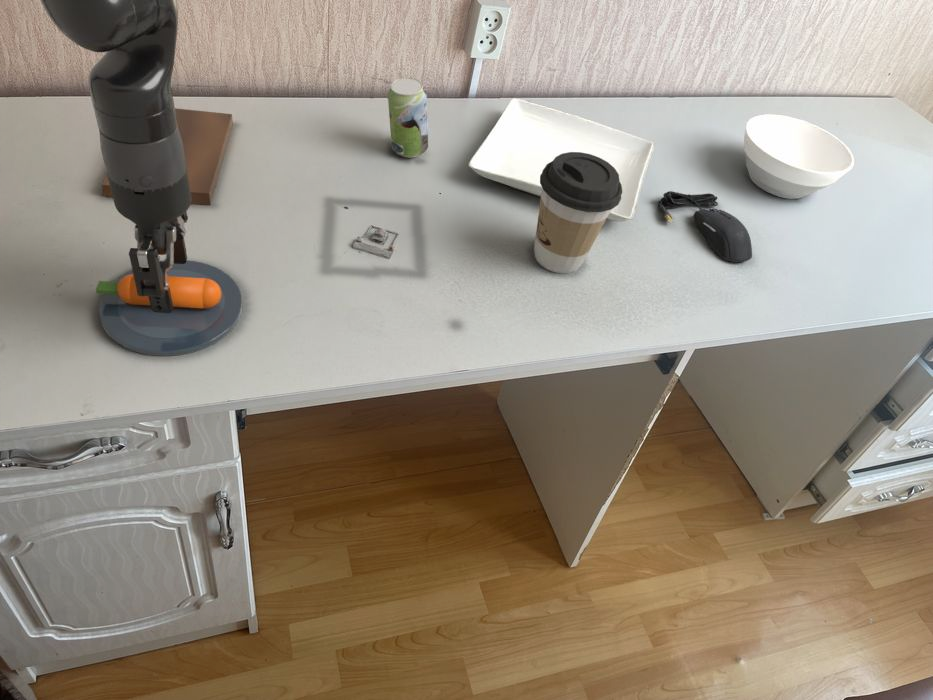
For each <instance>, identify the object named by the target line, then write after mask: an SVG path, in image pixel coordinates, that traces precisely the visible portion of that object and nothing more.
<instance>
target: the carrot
mask: <svg viewBox="0 0 933 700" xmlns="http://www.w3.org/2000/svg"><path fill="white" fill-rule="evenodd" d="M169 287H170V292H171V297H172V302H173V307H185V308H203V309H208V308H212V307H214V306H215V305H217V304H218V303H219V301H220V299H221V289H220V287H219V285H218V284H217V283H216V282H215V281H213V280H211V279H206V278H191V277H175V276H169ZM95 292H96V294H100V295H104V294H115V295H118V294H119V296H120V298H121V299H122V300H123V301H124V302H126V303H129V304H133V305H149V306H151V305H150V301H149V297H148V296H138V294H137V289H136V284H135V280H134V275H133V274H129V275H126V276H124V277H123V278H122V279H121V280H120V281H119V282H114V281H107V280H99V281H98V283H97V285H96V287H95Z"/></svg>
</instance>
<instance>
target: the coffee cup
mask: <svg viewBox="0 0 933 700" xmlns="http://www.w3.org/2000/svg"><path fill="white" fill-rule="evenodd" d="M540 184H541V186H542V193H541V197H540V201H539V209H538V216H537V223H536V229H535V230H536V231H535V238H534V245H533V252H534V258H535V260H536V262H537V263H538V264H539V265H540V266H541V267H542V268H543V269H545V270H547V271H550V272H552V273H555V274H570V273H574V272H576V271H577V270H578V269H579V268H580V266H582V265H583V263H584V261H585V260H586V257H587V256H588V254H589V252H590V250H591V249H592V246H593V245H594V243H595V242H596V239H597V237H598V235H599V234H600V232H601V230H602V229H603V226H604V224H605V223H606V220H607V219H608V218H607V217H608V215H609V213H610V211H611V210H612V209H613V208H614V207H616V206H617V205H618V204H619V202H620V200H621V195H622V185H621V183H620V180H619V174H618V173H617V171H616V169H615V168H614V167H613V166H612V165H610V164H609V163H608V162H606V161H605V160H603V159H601V158H599V157H597V156H594V155H591V154H587V153H582V152H568V153H563V154H560V155H558V156H557V157H555V159H554V160H553V161H552V162H550V163H548V164H547V165H546V167H545V168H544V169H543V171H542V174H541V175H540Z"/></svg>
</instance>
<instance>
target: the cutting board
mask: <svg viewBox="0 0 933 700" xmlns="http://www.w3.org/2000/svg"><path fill="white" fill-rule="evenodd" d="M175 113H176V119H177V125H178V129H179V133H180V135H181V139H182V142H183V147H184V154H185V160H186V166H187V173H188V179H189V186H190V192H191V205H203V206H211V204H212V201H213V199H214V195H215V190H216V186H217V183H218V181H219V176H220V173H221V168H222V165H223V162H224V158H225V155H226V152H227V147H228V144H229V140H230V137H231V133H232V130H233V126H234V122H233V114H232V113H225V112H216V111H215V112H214V111H205V110H197V109H196V110H195V109H187V108H186V109H185V108H184V109H183V108H176V107H175ZM101 186H102V190H103V195H104V198H113V196H112V192H111V188H110V184H109V180H108V176H107V174H106V175H105V177H104V179H103V181H102V184H101Z"/></svg>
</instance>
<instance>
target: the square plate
mask: <svg viewBox="0 0 933 700" xmlns="http://www.w3.org/2000/svg"><path fill="white" fill-rule="evenodd" d="M654 149H655V143H654V142H653V141H650V140H648V139H645V138H642V137H639V136H636V135H633V134H630V133H628V132H624V131H622V130H620V129H616V128H613V127H610V126H607V125H604V124H601V123H599V122H596V121H592V120H590V119H586V118H583V117H580V116H578V115H575V114H572V113H567V112H564V111H561V110H557V109H555V108H551V107H547V106H544V105H540V104H537V103H533V102H529V101H526V100H523V99H521V98H520V99H519V98H512V99H511V100H510V101H509V102H508V103H507V105H506V107H505V108H504V110H503V112H502V114H501V116H500V117H499V118H498V119H497V121H496V122H495V124H494V126H493V128H492V129H491V130H490V131H489V134H488V135H486V138H485V139H484V140H483V142H482V143H481V144H480V146H479V147H478V149H477V150H476V152H475V153H474V155H473V156H472V157H471V159H470V161H469V162H468V168H470V169H472V171H474V172H475V173H476V174H478V175H479V176H481V177H483V178H484V179H485V178H486V179H488V180H491V181H493V182H496V183H500V184H503V185H506V186H508V187H510V188H513V189H516V190H518V191H523V192H525V193H529V194H532V195H534V196H538V197H540V198H541V193H542V186H541V184H540V175H541V174H542V171H543V169H544V168H545V167H546V165H547V164H548V163H550V162H552V161H553V160H554V159H555V157H557V156H558V155H560V154H563V153H568V152H582V153H587V154H591V155H594V156H597V157H599V158H601V159H603V160H605V161H606V162H608V163H609V164H610V165H612V166H613V167H614V168H615V169H616V171H617V173H618V174H619V180H620V183H621V185H622V195H621V200H620V202H619V204H618V205H617V206H616V207H614V208H613V209H612V210H611V211H610V213H609V215H608V217H607V219H608V220H611V221H614V222H615V221H616V222H626V221H629V220H630V221H631V220H632V219H633V218H634V217H635V214H636V210H637V206H638V201H639V198H640V194H641V191H642V186H643V183H644V179H645V175H646V173H647V169H648V167H649V164H650V162H651V158H652V156H653V153H654Z"/></svg>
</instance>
